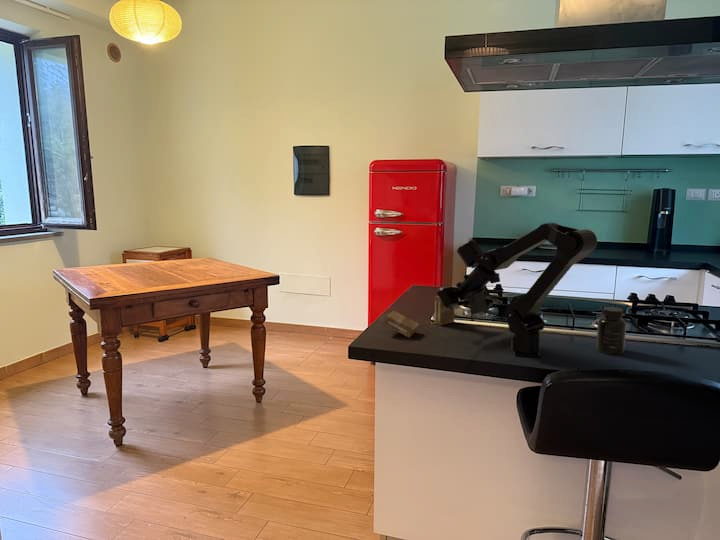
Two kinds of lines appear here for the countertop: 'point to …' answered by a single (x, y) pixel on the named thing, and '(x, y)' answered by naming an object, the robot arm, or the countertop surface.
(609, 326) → the supplement bottle
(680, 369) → the countertop surface
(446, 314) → the block two
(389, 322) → the block one
